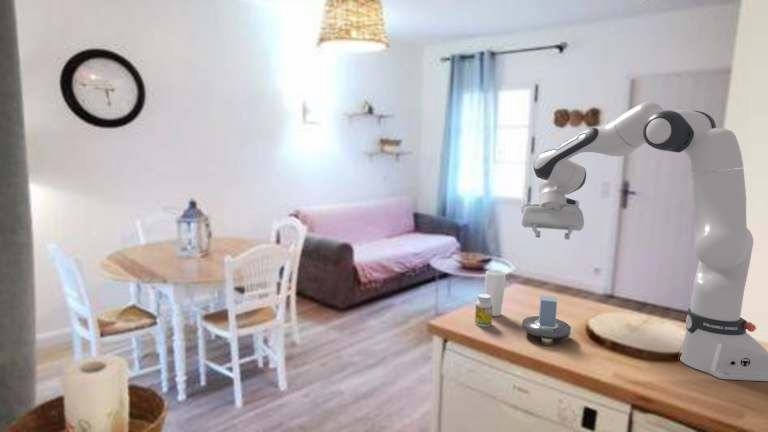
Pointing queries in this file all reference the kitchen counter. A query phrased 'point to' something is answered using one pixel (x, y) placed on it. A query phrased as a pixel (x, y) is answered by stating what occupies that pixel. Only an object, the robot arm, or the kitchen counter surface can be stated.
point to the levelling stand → (546, 330)
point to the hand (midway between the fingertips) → (552, 237)
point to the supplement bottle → (483, 310)
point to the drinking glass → (495, 289)
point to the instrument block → (547, 311)
